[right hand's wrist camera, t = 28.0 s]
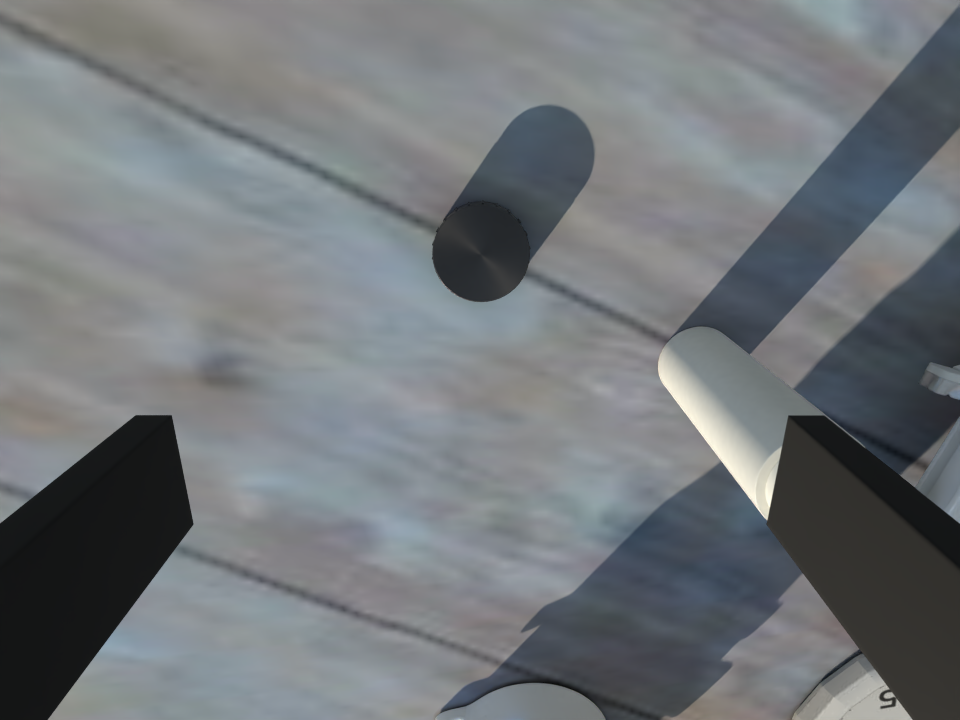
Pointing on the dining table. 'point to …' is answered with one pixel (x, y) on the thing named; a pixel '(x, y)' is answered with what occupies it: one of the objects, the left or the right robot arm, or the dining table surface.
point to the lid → (481, 251)
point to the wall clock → (852, 696)
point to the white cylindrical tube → (733, 405)
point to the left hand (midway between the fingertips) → (891, 442)
